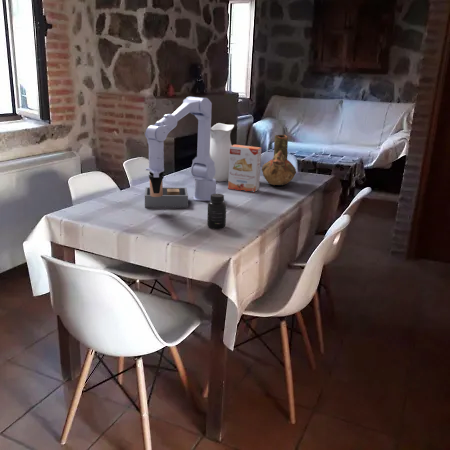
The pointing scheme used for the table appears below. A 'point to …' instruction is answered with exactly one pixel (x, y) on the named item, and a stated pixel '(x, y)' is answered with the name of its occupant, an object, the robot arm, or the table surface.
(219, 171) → the pitcher
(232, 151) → the cracker box
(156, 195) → the peach rounded capsule
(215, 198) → the supplement bottle
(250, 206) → the table surface
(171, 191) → the cube
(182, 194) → the tote
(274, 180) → the ceramic vessel
